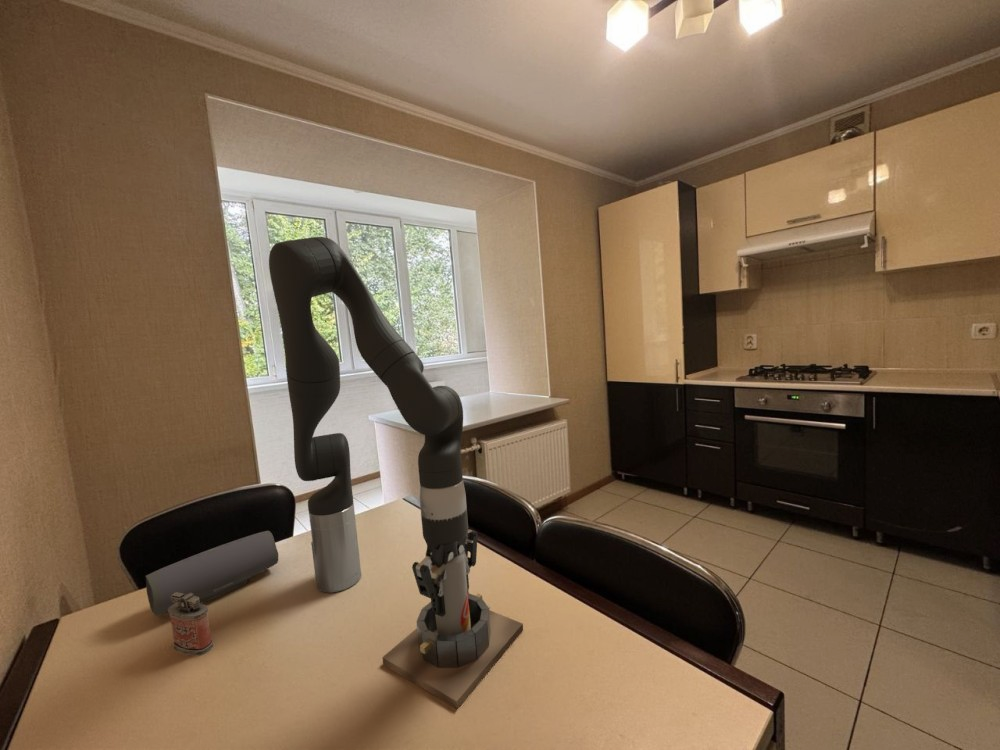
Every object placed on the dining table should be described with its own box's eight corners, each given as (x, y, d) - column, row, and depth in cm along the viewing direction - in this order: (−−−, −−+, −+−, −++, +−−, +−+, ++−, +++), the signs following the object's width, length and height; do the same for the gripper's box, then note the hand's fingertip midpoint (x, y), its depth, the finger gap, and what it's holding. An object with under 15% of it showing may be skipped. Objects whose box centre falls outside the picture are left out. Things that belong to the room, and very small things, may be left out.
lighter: (218, 644, 75) (211, 592, 74) (199, 658, 72) (191, 604, 71) (187, 636, 78) (180, 586, 77) (168, 649, 74) (160, 597, 74)
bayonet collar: (398, 655, 68) (395, 630, 67) (457, 603, 80) (455, 582, 79) (453, 686, 61) (450, 658, 60) (508, 625, 73) (506, 601, 72)
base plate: (383, 664, 68) (382, 656, 67) (456, 600, 83) (456, 593, 83) (457, 709, 58) (456, 699, 58) (524, 627, 74) (524, 620, 74)
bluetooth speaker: (266, 562, 103) (261, 523, 102) (281, 574, 97) (276, 534, 96) (149, 611, 86) (142, 566, 85) (158, 630, 80) (150, 582, 79)
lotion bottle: (475, 628, 73) (465, 520, 70) (466, 653, 67) (455, 537, 65) (444, 626, 74) (434, 519, 71) (433, 650, 68) (421, 536, 66)
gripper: (429, 531, 60) (438, 639, 62) (487, 495, 72) (494, 587, 73) (394, 520, 64) (404, 622, 66) (455, 489, 76) (462, 575, 78)
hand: (451, 603), depth 70 cm, fingers closed on lotion bottle, 5 cm apart
